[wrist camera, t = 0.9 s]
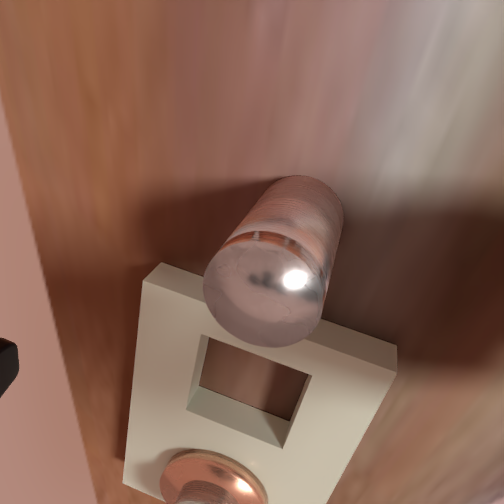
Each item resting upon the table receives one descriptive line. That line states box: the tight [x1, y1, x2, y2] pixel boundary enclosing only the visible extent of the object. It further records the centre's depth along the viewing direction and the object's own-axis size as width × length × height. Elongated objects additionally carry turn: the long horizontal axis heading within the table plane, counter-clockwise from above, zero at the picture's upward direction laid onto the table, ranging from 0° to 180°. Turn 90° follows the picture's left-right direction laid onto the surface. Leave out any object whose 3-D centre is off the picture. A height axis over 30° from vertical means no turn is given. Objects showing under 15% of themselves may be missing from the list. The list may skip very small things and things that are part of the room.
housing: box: [123, 262, 398, 504], centre depth 26 cm, size 13×18×2 cm
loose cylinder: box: [203, 175, 344, 348], centre depth 17 cm, size 4×4×7 cm
